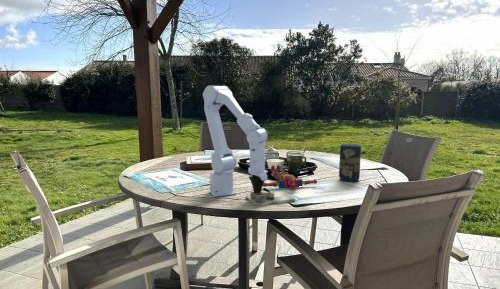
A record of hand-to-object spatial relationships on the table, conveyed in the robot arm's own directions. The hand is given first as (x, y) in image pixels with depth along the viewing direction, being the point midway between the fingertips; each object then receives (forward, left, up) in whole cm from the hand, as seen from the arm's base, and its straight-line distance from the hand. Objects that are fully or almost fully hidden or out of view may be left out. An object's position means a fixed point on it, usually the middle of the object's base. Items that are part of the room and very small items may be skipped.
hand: (257, 194), depth 141 cm
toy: (+21, +20, -3) cm, 29 cm away
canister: (+53, +14, -2) cm, 55 cm away
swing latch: (+1, -3, -1) cm, 3 cm away
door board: (+5, -2, -2) cm, 5 cm away
